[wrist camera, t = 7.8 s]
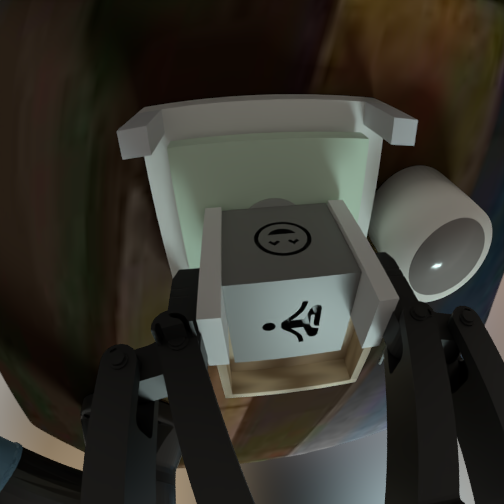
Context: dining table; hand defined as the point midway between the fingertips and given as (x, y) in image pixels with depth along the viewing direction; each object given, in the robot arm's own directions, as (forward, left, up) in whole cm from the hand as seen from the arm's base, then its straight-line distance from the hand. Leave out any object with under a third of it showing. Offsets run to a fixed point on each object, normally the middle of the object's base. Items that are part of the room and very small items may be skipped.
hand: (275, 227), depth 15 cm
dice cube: (0, -1, 0) cm, 1 cm away
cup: (+10, -2, -3) cm, 11 cm away
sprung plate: (0, 0, -1) cm, 1 cm away
